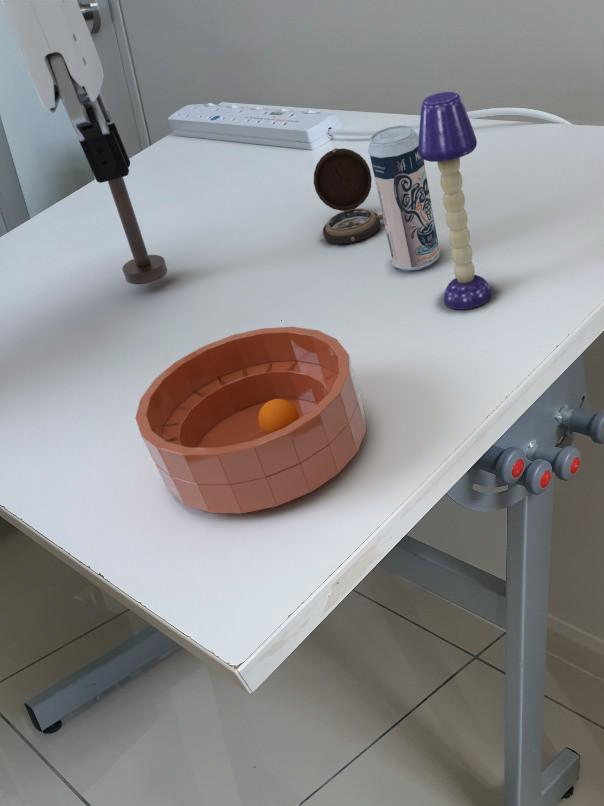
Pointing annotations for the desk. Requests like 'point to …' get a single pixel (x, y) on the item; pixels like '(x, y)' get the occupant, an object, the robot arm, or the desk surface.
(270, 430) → the ball
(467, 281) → the toy lamp
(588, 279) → the desk surface
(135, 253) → the stick
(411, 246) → the beer can
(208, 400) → the bowl
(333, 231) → the compass
